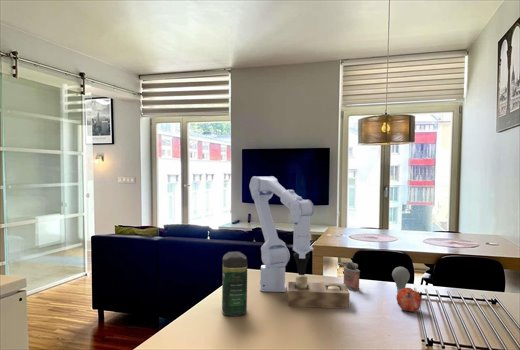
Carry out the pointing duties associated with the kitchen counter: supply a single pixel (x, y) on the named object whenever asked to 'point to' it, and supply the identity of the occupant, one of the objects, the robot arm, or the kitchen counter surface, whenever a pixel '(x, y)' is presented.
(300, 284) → the left peg
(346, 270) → the red ornate tin
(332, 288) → the right peg
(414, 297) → the pomegranate
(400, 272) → the light bulb
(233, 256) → the coffee jar
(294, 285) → the wooden block with recesses
